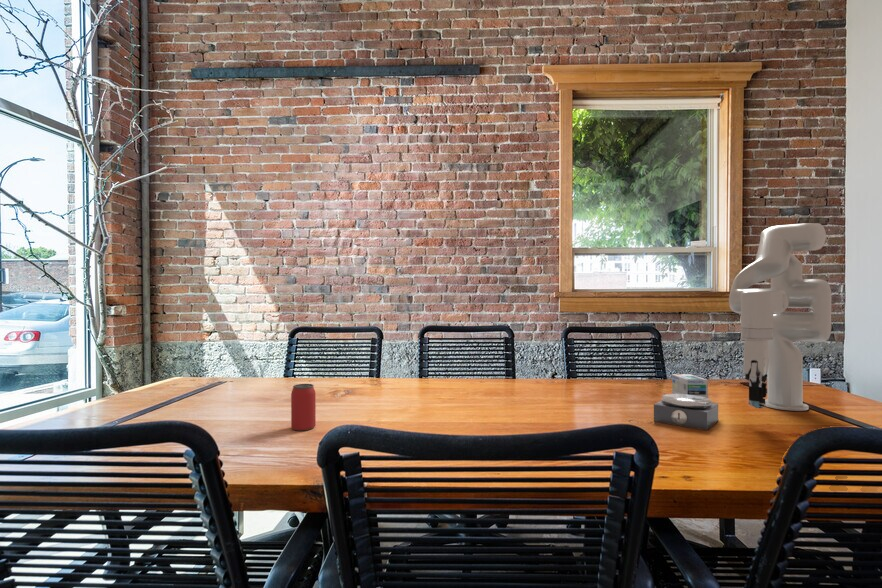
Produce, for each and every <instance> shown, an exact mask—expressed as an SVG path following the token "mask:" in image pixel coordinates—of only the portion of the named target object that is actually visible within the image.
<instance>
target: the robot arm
mask: <svg viewBox="0 0 882 588" xmlns="http://www.w3.org/2000/svg"><path fill="white" fill-rule="evenodd" d="M826 240H827V233H826V229H825V227H824V225H822V224H821V223H818V222H813V223H811V222H806V223H805V222H804V223H802V222H801V223H793V224H781V225H779V224H778V225H773V226H770V227H768V228H765V229H764V230H763V231H761V232H760V241H759V245H758V247H757V252H756V256H755V261H753V262H752V263H750V264H749V265H747V266H746V267H744V268H743V269H742V270H741V271H739V272H738V274H737V275H736V276H735V277H734V279H733V281H732V284H731V288H730V291H729V296H728V305H729V309H730V310H731V311H732V312H734V313H735V314H740V340H742V341H743V340H744V346H743V361H742V362H743V367H742V368H743V369H742V373H743V375H744V376H745V375H747V374H748V373H749V372H750V377H749V381H748V383H749V386H748V401H749V400H750V401H758V402H762V401H763V398H764V399H765V405H764V407H766V408H771V409H776V410H783V411H792V412H804V411H805V412H806V411H808V410H809V409H810V408H809V405H808V404H807V403H803V402H804V401H803V397H804V395H803V393H804V391H803V390H804V389H803V388H804V387H803V385H804V384H803V382H804V381H803V377H804V376H803V372H804V371H803V370H804V369H803V368H804V367H803V361H804V359H803V353H802V351H801V350H800V349H799V347H798V346H797V345H796V344H795V343H794V342H809V343H810V342H811V343H823V342H826V341H828V340H829V339H830V337H831V333H832V290H831V286H830V284H829V282H828V281H826V280H824V279H819V278H803V269H804V268H803V263H802V262H801V261H800V260H799V259H798V258H797V257H796V256H795V255H794V253H793V254H792V252H808V251H818V250H821V249H822V248H823V247H824V245H825V243H826ZM768 280H770V287H769V288H768V287H767V288H765V287H764V288H763V287H762V288H760V287H759V288H757V287H753V288H752V287H751V286H753V285H755V284H758V283H761V282H763V281H768ZM787 308H788V309H810V310H812V311H811V312H810V311H809V312H808V311H786V310H787ZM749 370H750V371H749ZM757 373H758V374H760V376H759V375H757ZM765 374H766V375H767V380H766V381H767V382H766V381H764V382H763V383H762V376H764V375H765ZM758 378H759V380H758ZM766 397H767V398H766Z"/></svg>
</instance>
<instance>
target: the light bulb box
mask: <svg viewBox="0 0 882 588" xmlns="http://www.w3.org/2000/svg"><path fill="white" fill-rule="evenodd" d="M671 381H672V383H671V385H672V388H671V389H672V390H671V394H688V395H696V396H701V397H705V398H708V397H709V393H708V392H709V387H708V386H709V380H708V379H707V378H703V377H699V376H697V375H694V374H691V373H690V374H688V373H685V374H684V373H672V374H671ZM708 399H709V398H708Z"/></svg>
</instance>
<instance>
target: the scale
mask: <svg viewBox="0 0 882 588" xmlns="http://www.w3.org/2000/svg"><path fill="white" fill-rule="evenodd" d="M718 421H719V403H718V402H712V401H711V406H710V407H705V408H689V407H680V406H674V405H670V404H667V403H664V402H663V401H662V399H661V400H659V401H657V402H656V403H654V404H653V422H655V423H656V422H657V423H661V424H667V425H673V426H678V427H679V426H680V427H685V428H690V429H697V430H703V431H709V430H710V428H711V427H713V425H715V424H716V423H717V422H718Z"/></svg>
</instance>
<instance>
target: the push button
mask: <svg viewBox="0 0 882 588" xmlns="http://www.w3.org/2000/svg"><path fill="white" fill-rule="evenodd" d="M749 371H750V370H749ZM757 375H759V376H760V374H758V373H757ZM744 376H745V379H746V380H747V381H748V382H749V377H750V372H749V373H748V374H747V375H744ZM758 380H759V378H758ZM764 381H765V382H766V381H767V373H766V374H765V375H764V376H762V383H763V382H764ZM765 399H766V398H765V397H763V401H762V402H758V401H750V400H749V399H748V406H749V407H753V408H755V409H766V406H764V405H765Z"/></svg>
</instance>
